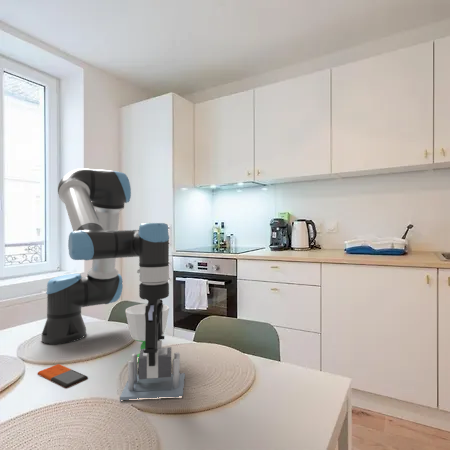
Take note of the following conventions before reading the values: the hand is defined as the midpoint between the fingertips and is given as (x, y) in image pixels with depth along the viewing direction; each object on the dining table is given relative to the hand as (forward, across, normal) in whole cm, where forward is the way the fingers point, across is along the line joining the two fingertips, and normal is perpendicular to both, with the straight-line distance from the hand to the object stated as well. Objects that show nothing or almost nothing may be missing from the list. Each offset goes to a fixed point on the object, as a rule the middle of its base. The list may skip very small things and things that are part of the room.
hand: (154, 370), depth 81 cm
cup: (+5, -19, -5) cm, 20 cm away
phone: (+5, -9, -27) cm, 29 cm away
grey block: (+1, 0, 0) cm, 1 cm away
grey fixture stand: (+5, 0, 0) cm, 5 cm away
